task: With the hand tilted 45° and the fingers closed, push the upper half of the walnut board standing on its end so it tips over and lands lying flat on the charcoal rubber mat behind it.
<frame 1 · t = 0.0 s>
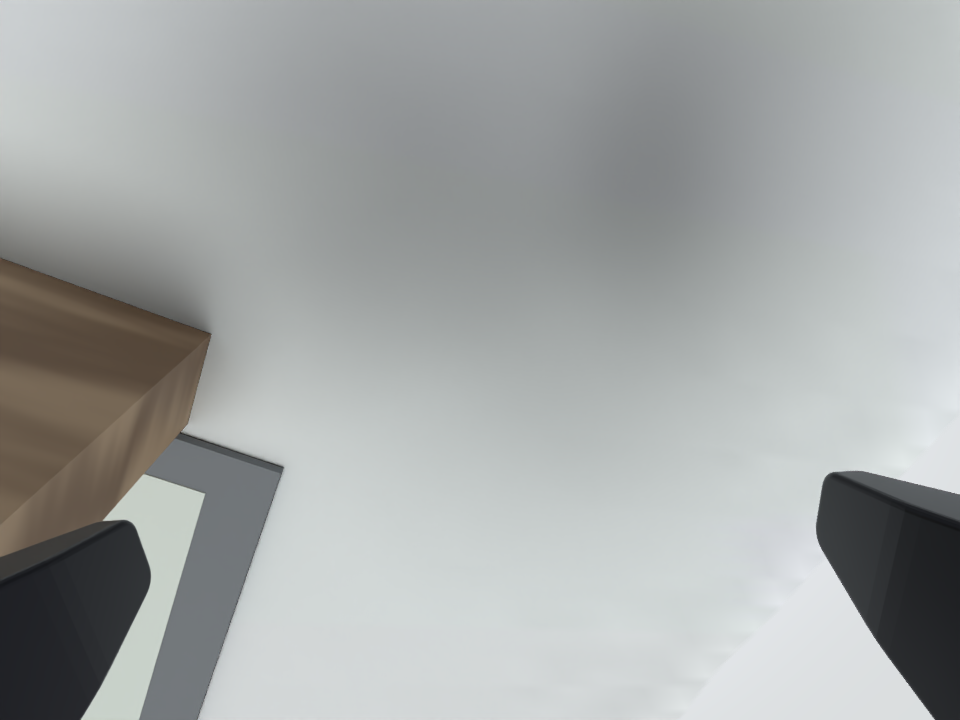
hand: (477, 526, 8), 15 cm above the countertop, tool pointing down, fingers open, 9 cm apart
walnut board: (62, 332, 23), on the countertop
mat: (18, 583, 27), on the countertop
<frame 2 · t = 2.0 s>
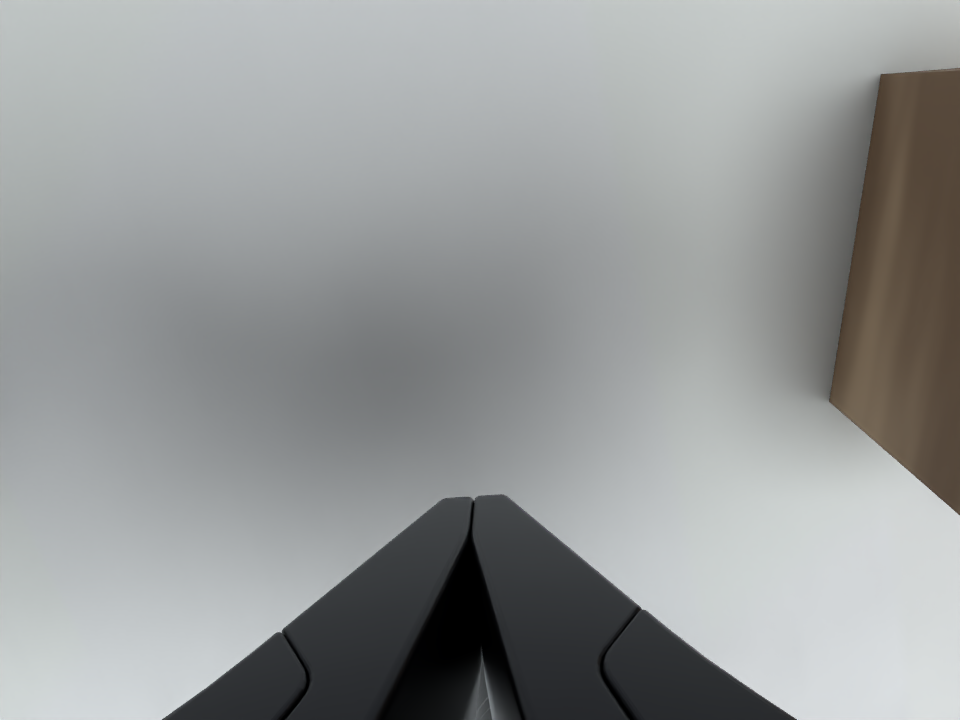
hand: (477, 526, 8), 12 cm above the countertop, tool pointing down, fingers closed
supplement bottle: (554, 671, 26), on the countertop
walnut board: (919, 249, 19), on the countertop
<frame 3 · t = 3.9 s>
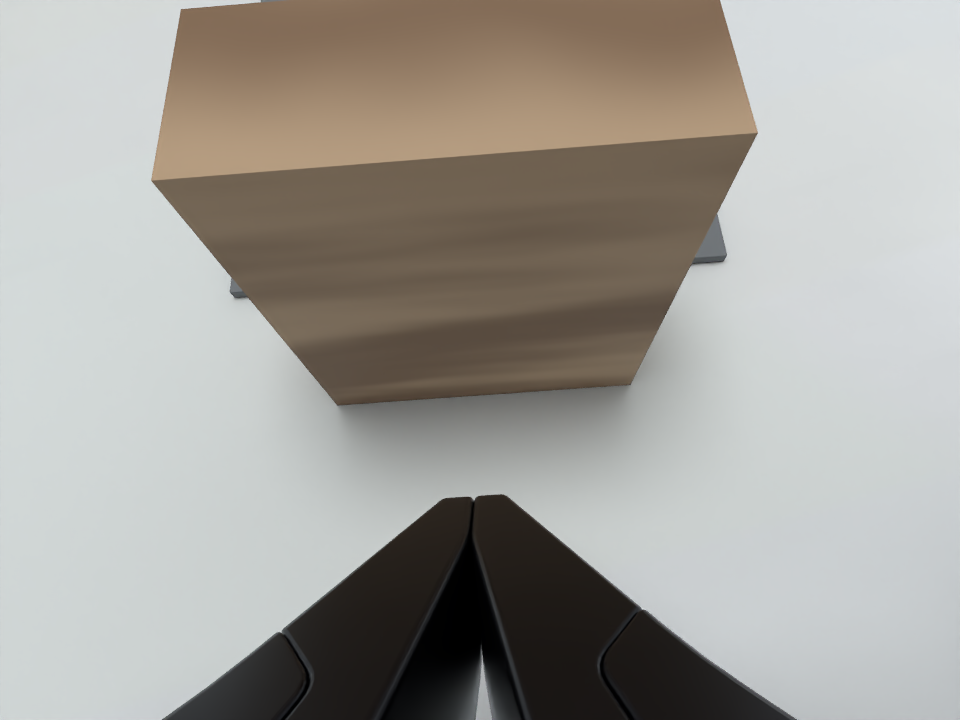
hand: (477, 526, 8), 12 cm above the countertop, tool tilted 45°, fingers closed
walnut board: (479, 341, 22), on the countertop
mat: (463, 74, 27), on the countertop
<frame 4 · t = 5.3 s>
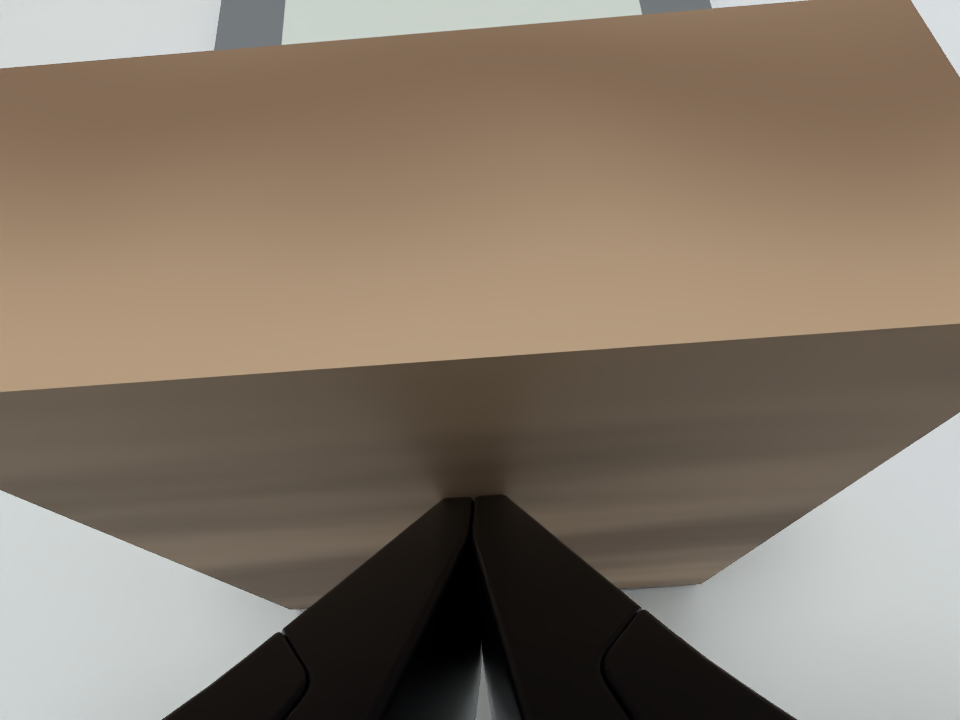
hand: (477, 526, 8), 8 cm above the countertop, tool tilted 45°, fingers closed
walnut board: (489, 515, 16), on the countertop, tilted 6°, touching gripper
mat: (467, 140, 21), on the countertop
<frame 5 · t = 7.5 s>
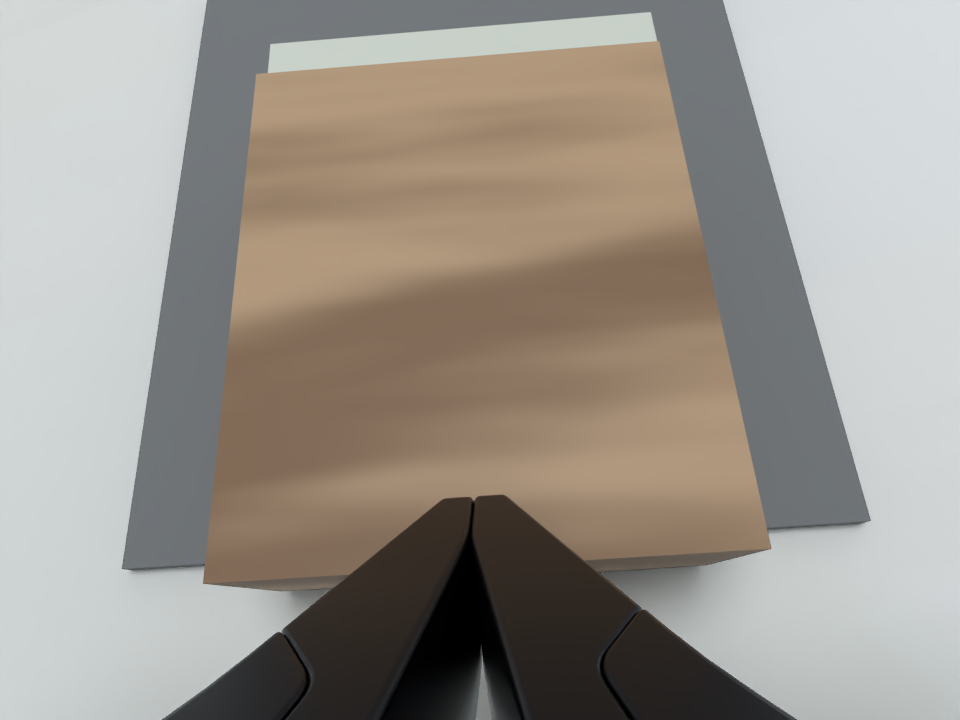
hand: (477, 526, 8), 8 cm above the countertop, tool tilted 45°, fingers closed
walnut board: (488, 573, 13), point 2 cm above the countertop, tilted 90°, touching mat
mat: (470, 207, 19), on the countertop
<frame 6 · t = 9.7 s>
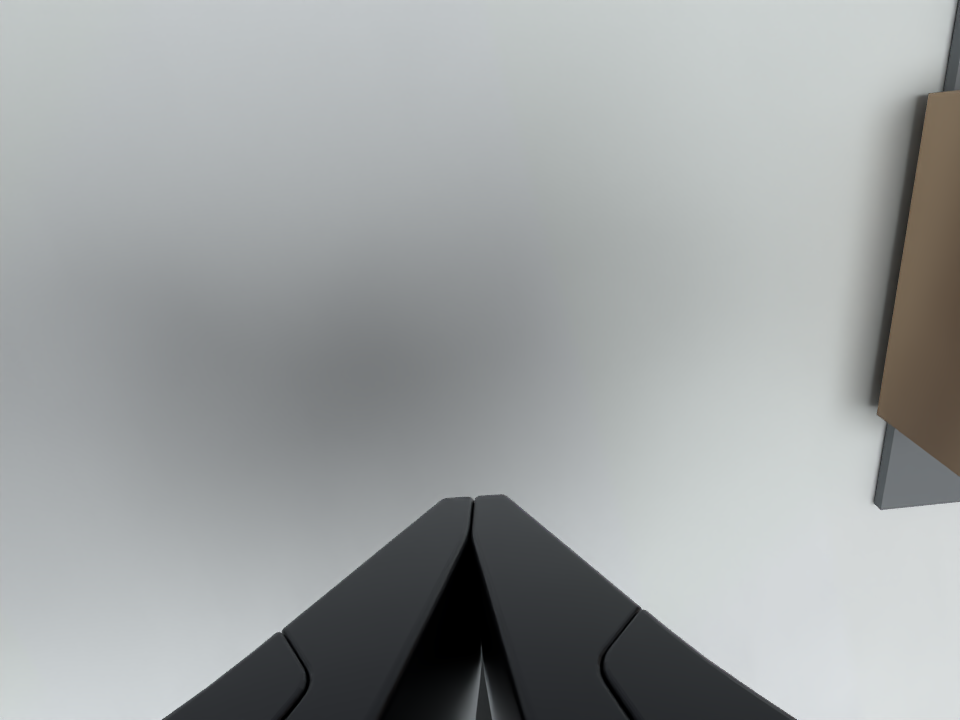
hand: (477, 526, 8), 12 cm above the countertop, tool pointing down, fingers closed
supplement bottle: (512, 688, 26), on the countertop
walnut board: (947, 288, 17), point 2 cm above the countertop, tilted 90°, touching mat
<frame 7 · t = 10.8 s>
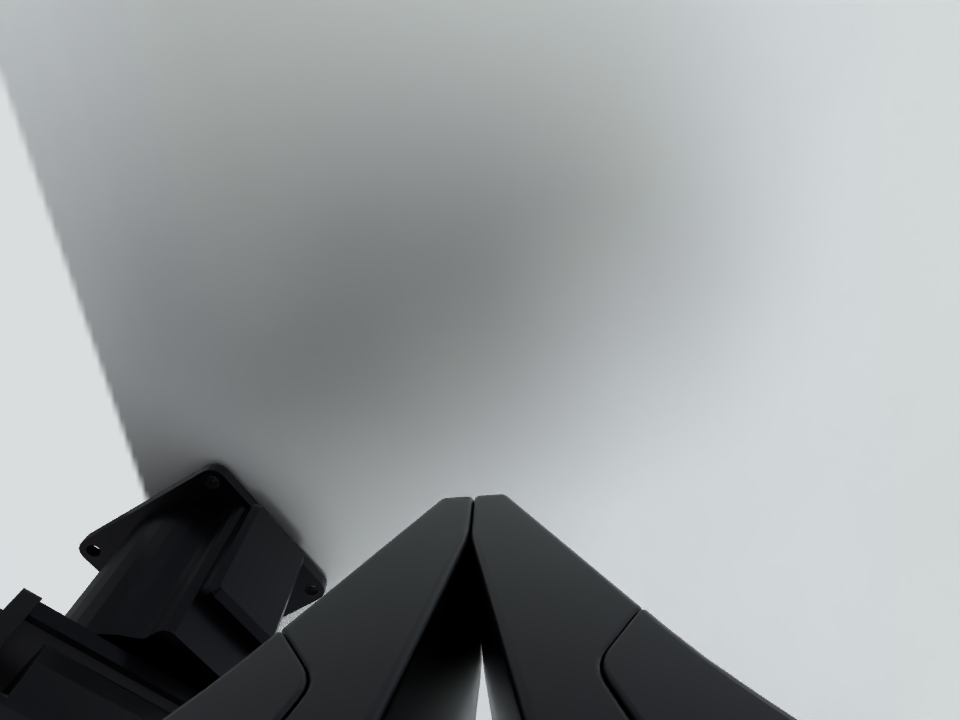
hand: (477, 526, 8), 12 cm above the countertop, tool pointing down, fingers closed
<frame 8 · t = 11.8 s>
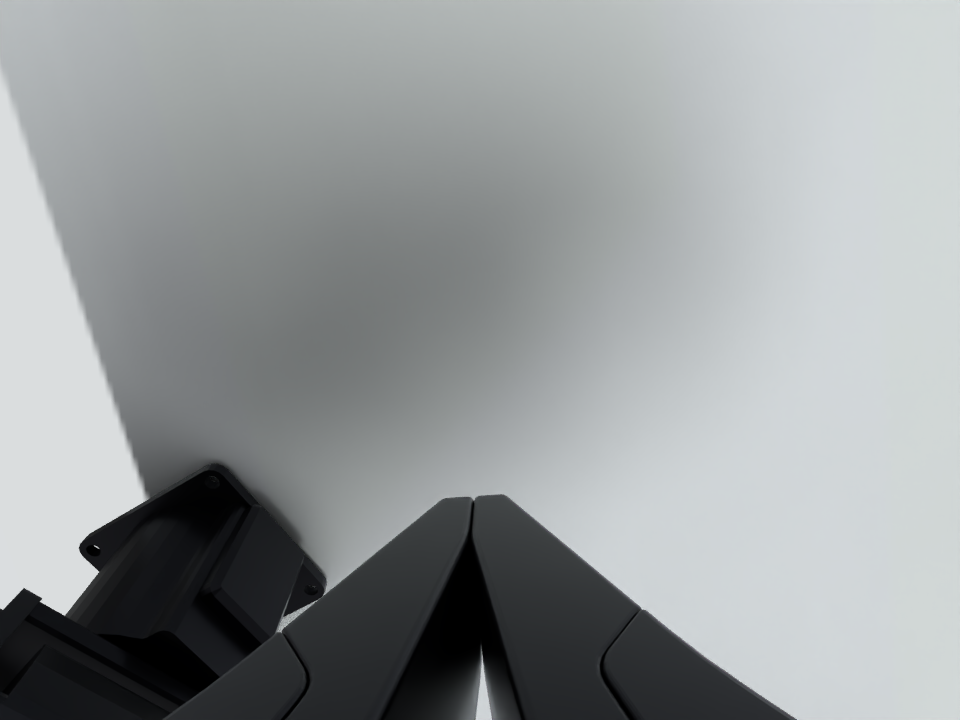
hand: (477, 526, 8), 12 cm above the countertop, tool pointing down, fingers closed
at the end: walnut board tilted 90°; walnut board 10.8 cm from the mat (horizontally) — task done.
